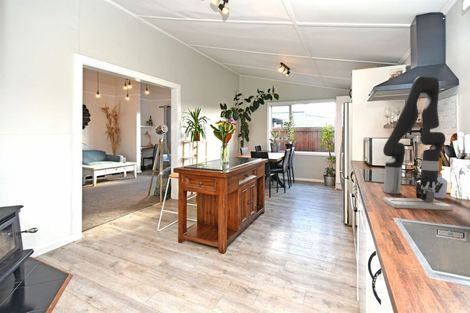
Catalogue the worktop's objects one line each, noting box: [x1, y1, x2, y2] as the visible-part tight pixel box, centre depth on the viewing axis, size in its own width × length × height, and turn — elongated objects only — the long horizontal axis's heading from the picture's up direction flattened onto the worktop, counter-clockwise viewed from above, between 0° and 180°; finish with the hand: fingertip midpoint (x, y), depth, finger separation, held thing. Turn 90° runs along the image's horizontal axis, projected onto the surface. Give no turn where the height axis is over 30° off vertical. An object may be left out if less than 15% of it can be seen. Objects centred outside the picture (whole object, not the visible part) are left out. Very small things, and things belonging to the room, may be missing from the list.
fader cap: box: [421, 189, 434, 202], centre depth 136 cm, size 5×3×6 cm, turn 173°
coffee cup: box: [415, 176, 429, 199], centre depth 149 cm, size 9×8×13 cm
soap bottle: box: [434, 157, 448, 199], centre depth 153 cm, size 9×9×25 cm
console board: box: [382, 196, 452, 211], centre depth 137 cm, size 13×28×2 cm, turn 83°
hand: (426, 199), depth 136 cm, fingers closed on fader cap, 3 cm apart
